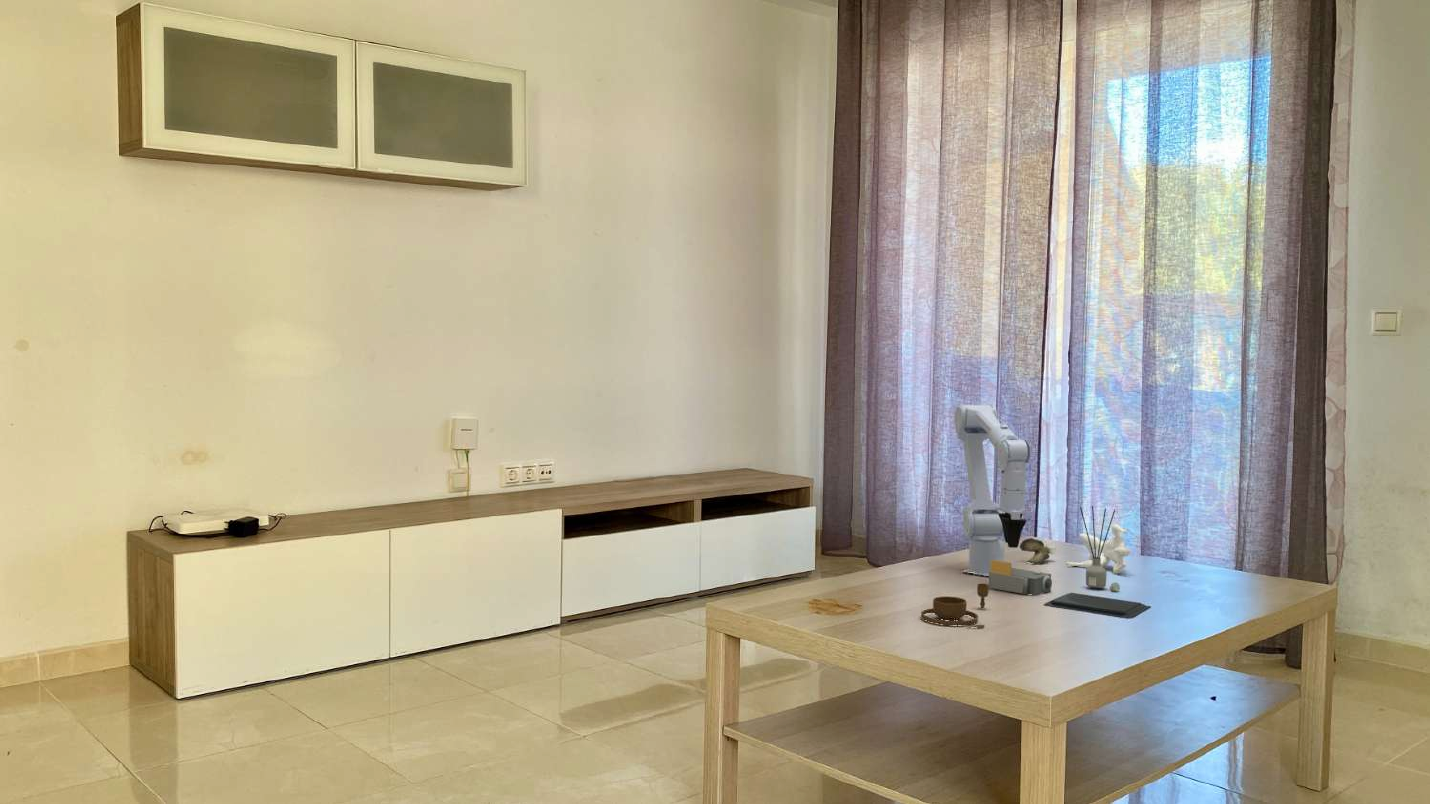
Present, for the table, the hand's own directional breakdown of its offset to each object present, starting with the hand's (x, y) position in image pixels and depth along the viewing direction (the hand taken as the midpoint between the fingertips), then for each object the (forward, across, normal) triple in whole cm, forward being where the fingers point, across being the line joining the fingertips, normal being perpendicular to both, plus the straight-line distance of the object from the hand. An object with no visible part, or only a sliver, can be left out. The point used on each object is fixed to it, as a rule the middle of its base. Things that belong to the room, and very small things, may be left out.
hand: (1011, 545), depth 269 cm
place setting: (+11, +34, -13) cm, 38 cm away
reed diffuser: (+11, -4, +22) cm, 24 cm away
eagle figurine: (+11, -36, +11) cm, 39 cm away
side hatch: (+10, +5, -1) cm, 11 cm away
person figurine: (+11, -29, +28) cm, 41 cm away
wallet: (+11, +16, +17) cm, 26 cm away
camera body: (+10, +1, +2) cm, 11 cm away
